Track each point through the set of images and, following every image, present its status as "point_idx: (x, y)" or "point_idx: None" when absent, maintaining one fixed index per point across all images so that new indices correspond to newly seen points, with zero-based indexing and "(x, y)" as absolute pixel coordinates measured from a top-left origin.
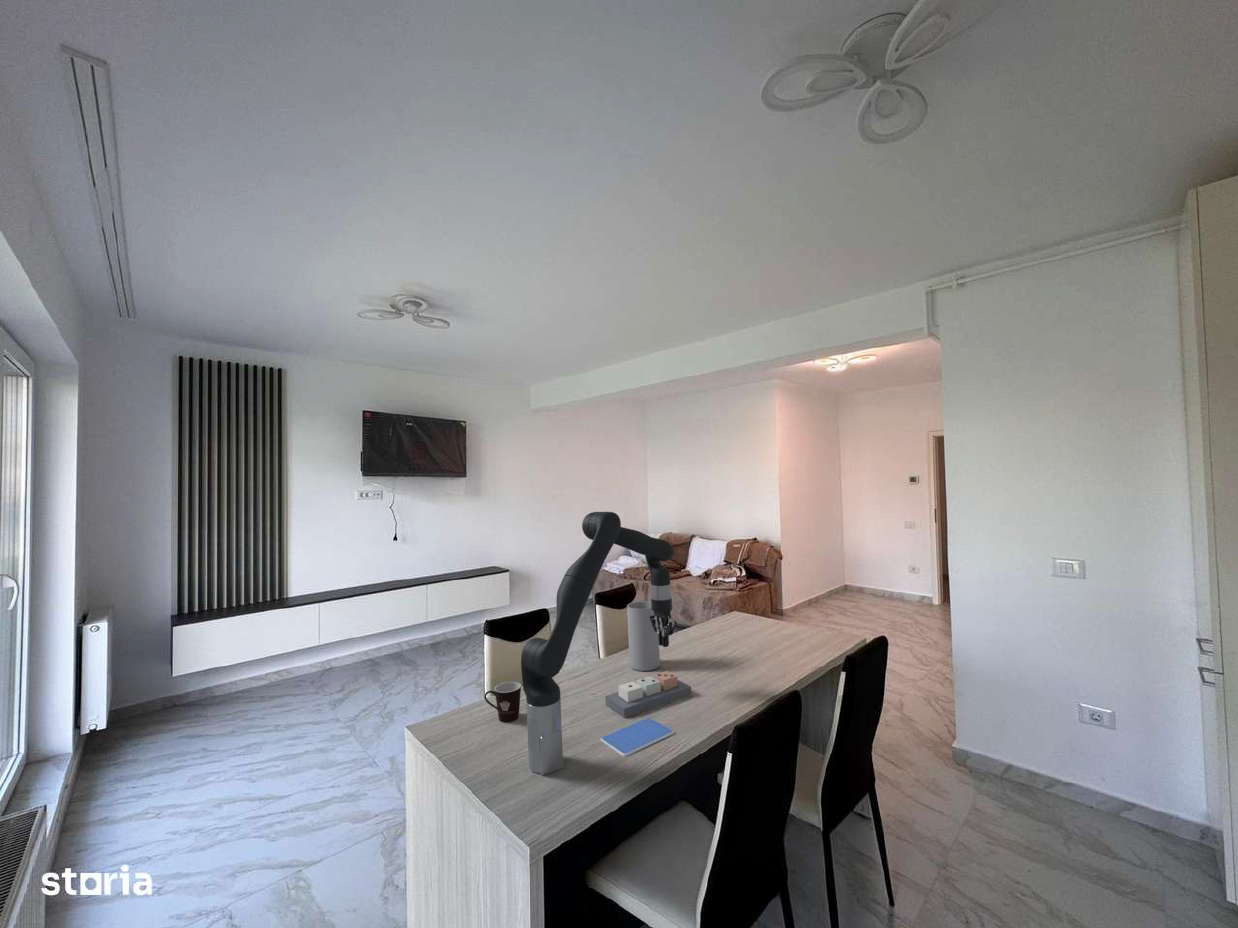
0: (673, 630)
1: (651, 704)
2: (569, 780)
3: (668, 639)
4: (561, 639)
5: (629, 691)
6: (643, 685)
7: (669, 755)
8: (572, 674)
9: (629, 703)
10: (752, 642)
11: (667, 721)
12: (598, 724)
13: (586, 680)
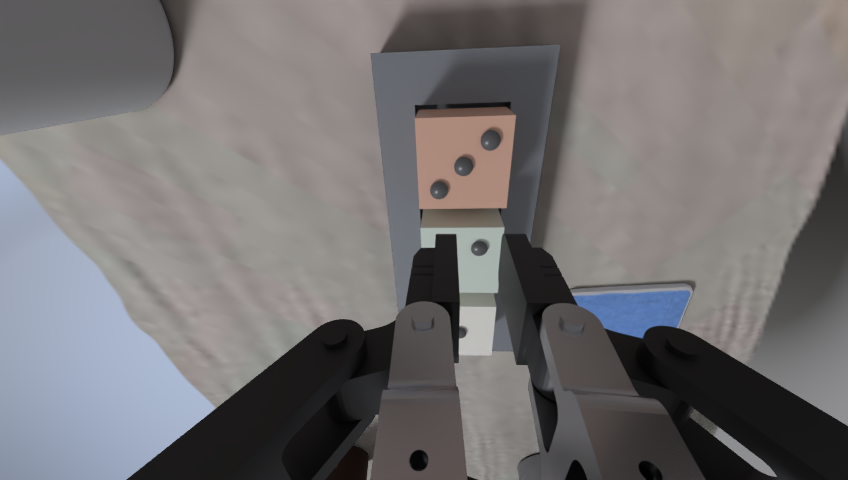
0: (820, 419)
1: None
2: None
3: (566, 289)
4: None
5: (491, 348)
6: (477, 289)
7: (740, 344)
8: (141, 304)
9: (495, 327)
10: None
11: (623, 261)
12: (489, 377)
13: (206, 295)
